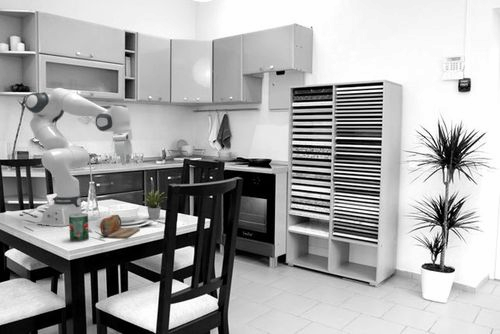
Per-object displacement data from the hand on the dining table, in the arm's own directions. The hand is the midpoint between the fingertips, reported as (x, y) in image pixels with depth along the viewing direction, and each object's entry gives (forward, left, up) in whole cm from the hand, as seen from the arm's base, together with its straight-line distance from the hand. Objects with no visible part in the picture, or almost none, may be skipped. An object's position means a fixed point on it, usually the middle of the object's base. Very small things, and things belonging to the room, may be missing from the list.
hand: (126, 164), depth 220 cm
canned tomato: (-10, -30, -31) cm, 45 cm away
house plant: (+8, +14, -31) cm, 35 cm away
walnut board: (+7, -19, -31) cm, 37 cm away
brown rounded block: (0, -19, -31) cm, 37 cm away
